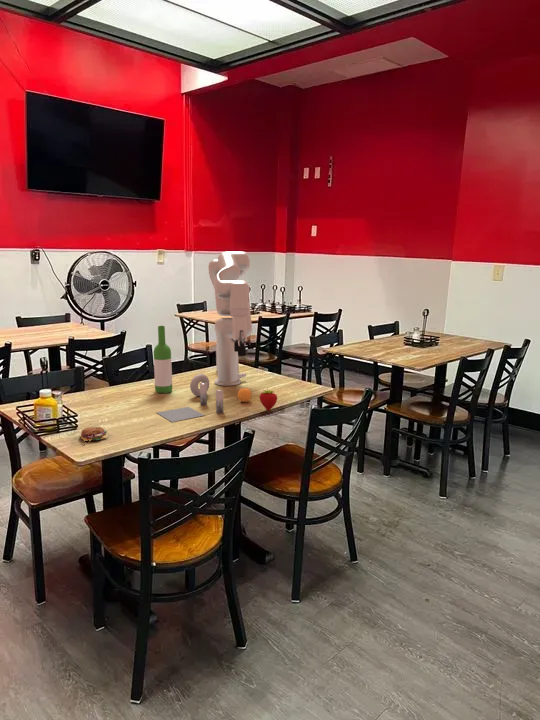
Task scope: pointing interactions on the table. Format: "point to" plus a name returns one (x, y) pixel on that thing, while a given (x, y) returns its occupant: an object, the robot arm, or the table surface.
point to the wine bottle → (162, 364)
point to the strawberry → (268, 399)
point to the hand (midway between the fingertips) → (239, 353)
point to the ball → (244, 395)
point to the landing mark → (180, 414)
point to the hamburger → (93, 433)
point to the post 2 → (219, 401)
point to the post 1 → (203, 393)
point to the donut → (195, 382)
